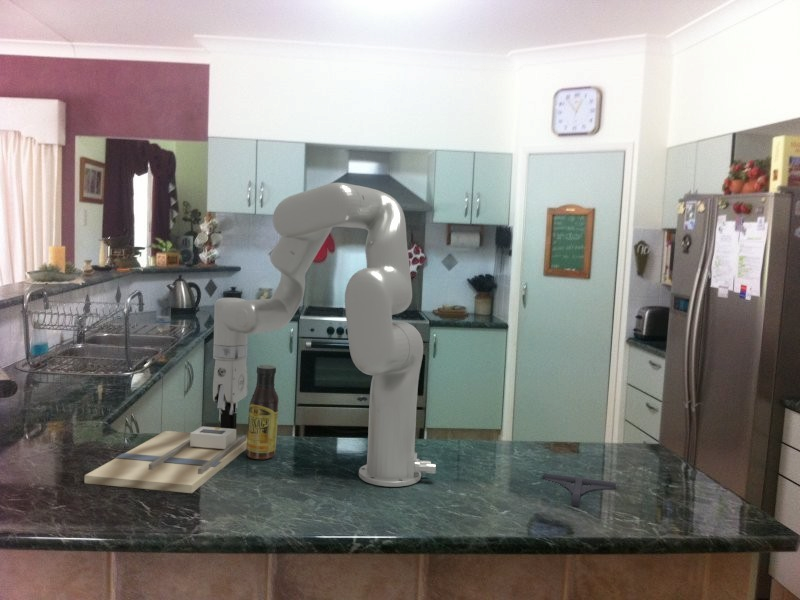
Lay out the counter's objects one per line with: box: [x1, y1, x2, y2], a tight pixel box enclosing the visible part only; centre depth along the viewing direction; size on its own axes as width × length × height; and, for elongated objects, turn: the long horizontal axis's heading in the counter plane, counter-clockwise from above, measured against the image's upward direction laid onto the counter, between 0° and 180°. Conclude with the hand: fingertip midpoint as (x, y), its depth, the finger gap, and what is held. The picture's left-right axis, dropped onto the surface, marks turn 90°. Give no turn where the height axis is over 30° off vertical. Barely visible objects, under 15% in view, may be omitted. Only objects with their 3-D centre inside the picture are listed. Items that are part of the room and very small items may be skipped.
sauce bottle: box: [246, 364, 279, 461], centre depth 145 cm, size 6×6×20 cm
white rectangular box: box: [189, 425, 237, 449], centre depth 147 cm, size 6×8×3 cm
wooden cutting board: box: [83, 430, 247, 494], centre depth 140 cm, size 21×32×2 cm, turn 173°
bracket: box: [542, 472, 617, 508], centre depth 131 cm, size 14×15×3 cm
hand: (228, 430), depth 155 cm, fingers closed
